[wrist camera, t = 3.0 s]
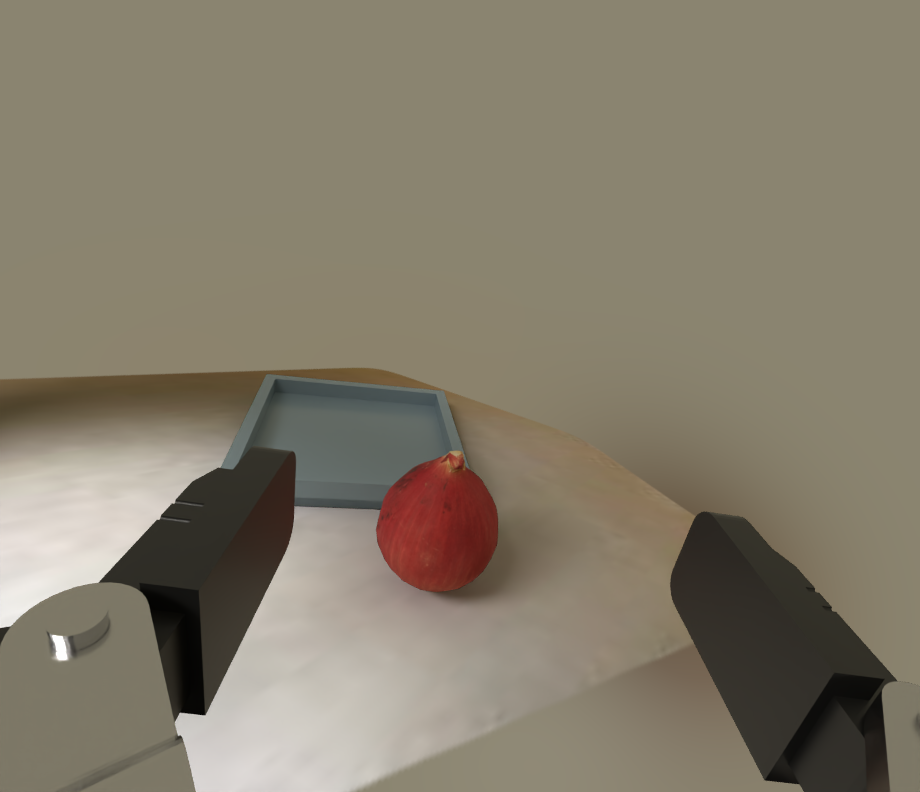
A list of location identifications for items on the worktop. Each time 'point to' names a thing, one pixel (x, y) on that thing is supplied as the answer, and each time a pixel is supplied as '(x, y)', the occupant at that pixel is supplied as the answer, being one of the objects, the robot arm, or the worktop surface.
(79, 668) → the robot arm
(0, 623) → the worktop surface
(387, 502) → the onion
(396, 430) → the dish
